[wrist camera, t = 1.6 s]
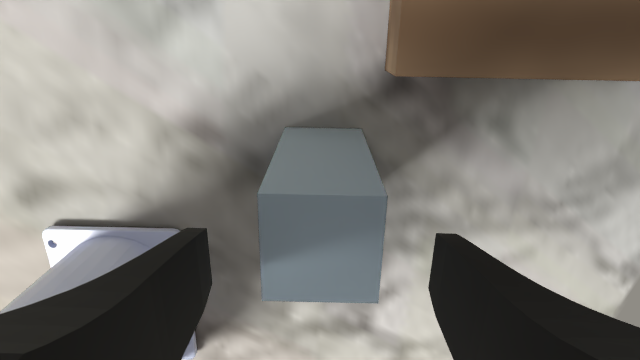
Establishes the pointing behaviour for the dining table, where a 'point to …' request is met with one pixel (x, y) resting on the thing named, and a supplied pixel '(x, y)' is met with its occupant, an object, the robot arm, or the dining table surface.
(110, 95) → the dining table surface
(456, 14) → the plate
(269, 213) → the long peg
